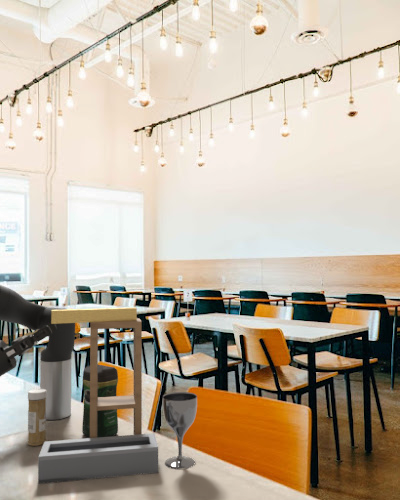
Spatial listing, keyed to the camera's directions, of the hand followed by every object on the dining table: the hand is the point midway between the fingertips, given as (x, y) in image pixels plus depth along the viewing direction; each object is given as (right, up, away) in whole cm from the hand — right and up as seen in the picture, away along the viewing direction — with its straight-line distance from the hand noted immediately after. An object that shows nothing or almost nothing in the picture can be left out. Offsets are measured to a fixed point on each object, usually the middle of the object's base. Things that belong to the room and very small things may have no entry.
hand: (52, 326), depth 108 cm
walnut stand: (+15, -31, +1) cm, 34 cm away
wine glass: (+31, -31, -5) cm, 44 cm away
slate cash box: (+13, -30, -8) cm, 34 cm away
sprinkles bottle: (-7, -32, +8) cm, 33 cm away
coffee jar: (+8, -32, +14) cm, 36 cm away
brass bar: (+10, +1, +1) cm, 10 cm away
